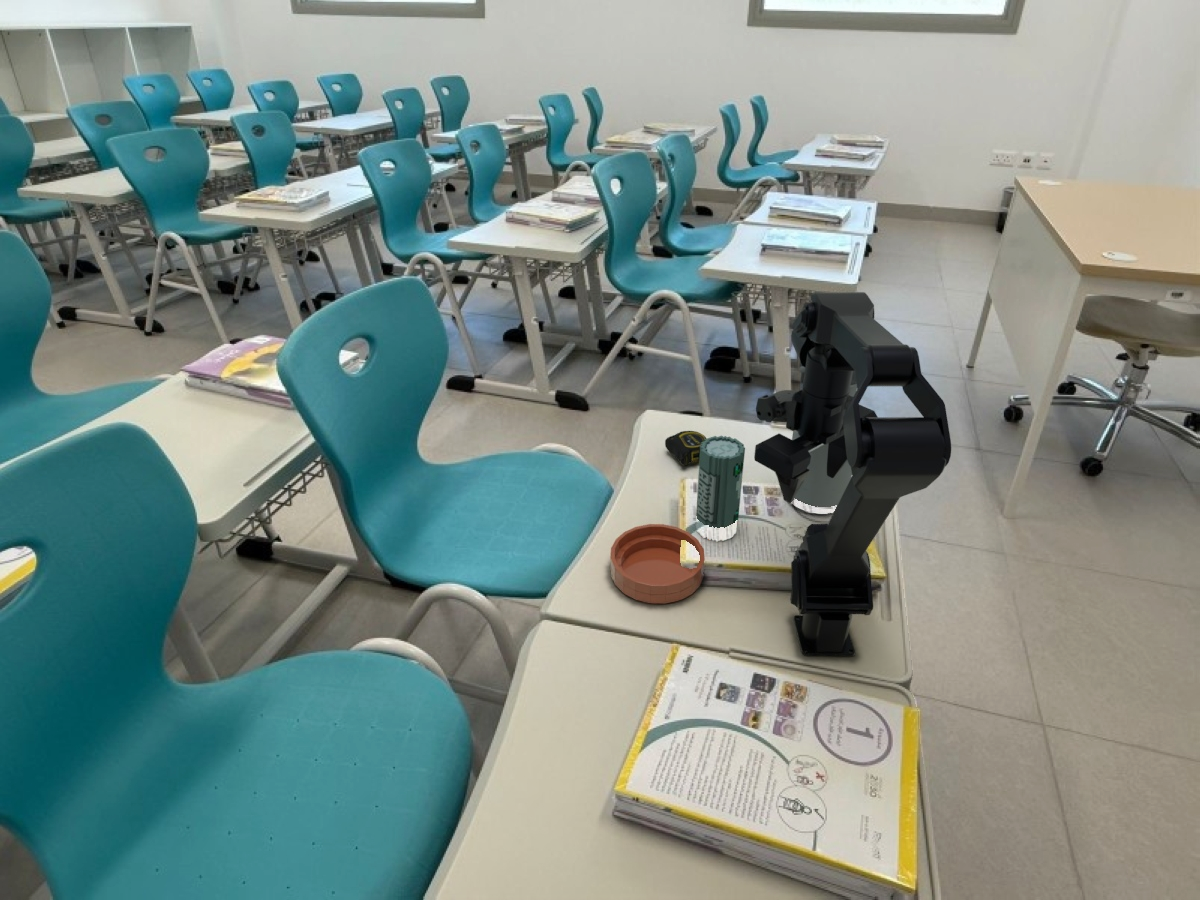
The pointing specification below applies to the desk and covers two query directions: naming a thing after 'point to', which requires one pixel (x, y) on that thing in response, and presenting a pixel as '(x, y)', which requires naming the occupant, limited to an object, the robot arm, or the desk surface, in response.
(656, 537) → the bowl
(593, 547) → the desk surface
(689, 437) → the tape measure
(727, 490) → the can
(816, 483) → the water bottle
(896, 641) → the desk surface
